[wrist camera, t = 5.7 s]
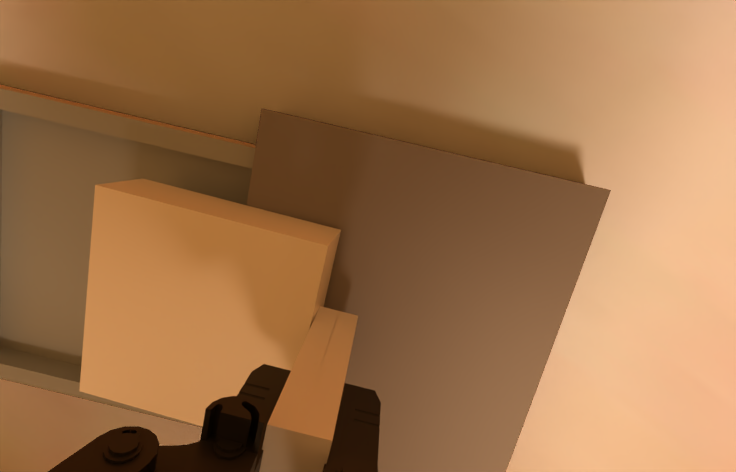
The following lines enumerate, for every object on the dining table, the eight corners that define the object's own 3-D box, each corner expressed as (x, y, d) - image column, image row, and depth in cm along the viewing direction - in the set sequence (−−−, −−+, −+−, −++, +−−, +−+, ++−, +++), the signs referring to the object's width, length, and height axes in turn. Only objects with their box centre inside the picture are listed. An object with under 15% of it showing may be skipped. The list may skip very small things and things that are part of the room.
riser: (474, 495, 21) (483, 532, 19) (223, 434, 21) (205, 465, 19) (585, 184, 17) (610, 190, 15) (276, 112, 17) (261, 108, 15)
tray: (225, 409, 20) (212, 429, 19) (-8, 352, 20) (-40, 369, 19) (268, 147, 17) (256, 148, 16) (-7, 83, 17) (-44, 77, 16)
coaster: (300, 407, 17) (282, 449, 15) (124, 357, 18) (79, 390, 15) (341, 229, 16) (327, 245, 13) (143, 178, 16) (94, 184, 14)
